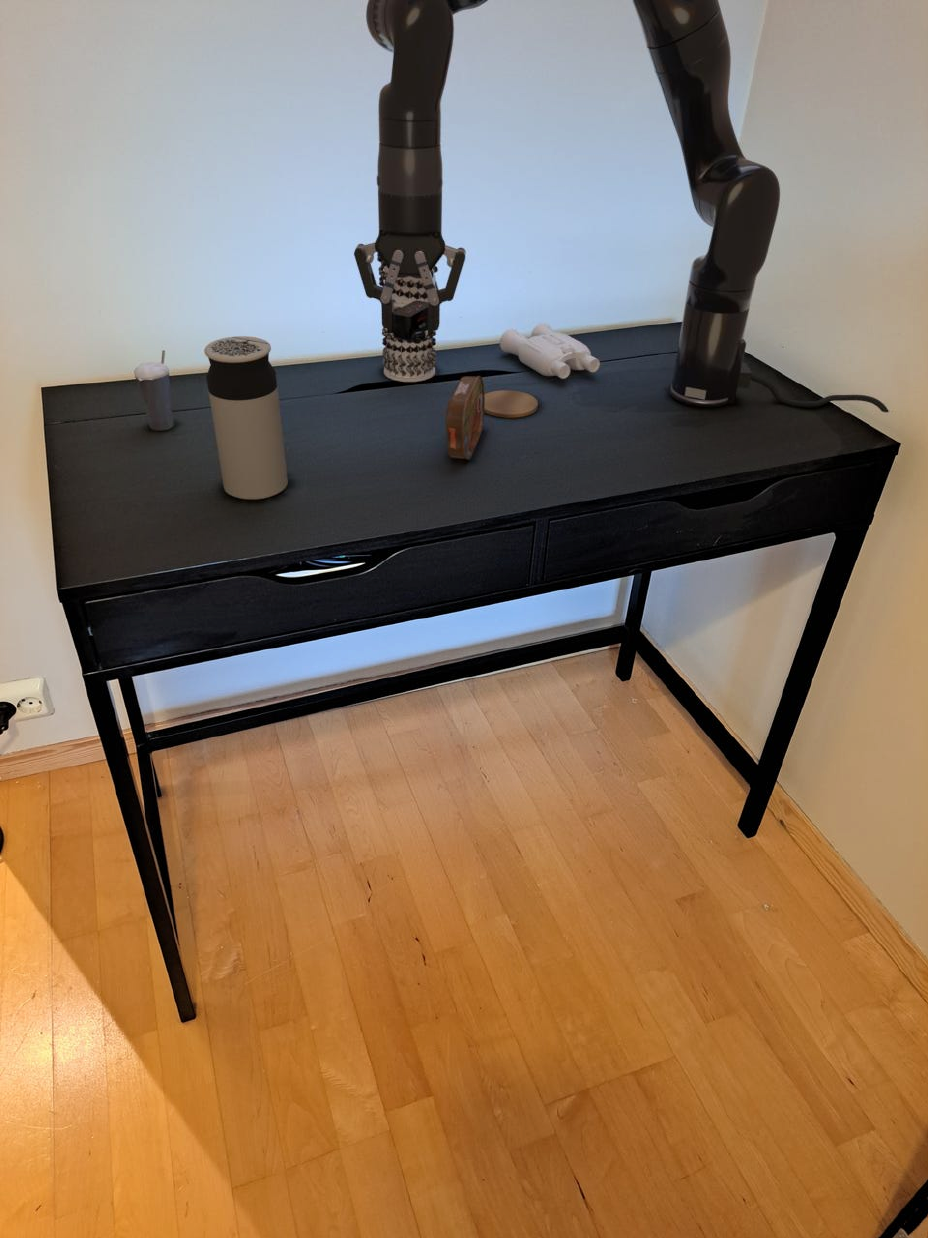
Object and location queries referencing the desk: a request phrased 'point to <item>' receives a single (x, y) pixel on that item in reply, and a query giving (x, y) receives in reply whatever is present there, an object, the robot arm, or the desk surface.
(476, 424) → the tin
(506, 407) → the cork coaster
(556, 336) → the binoculars
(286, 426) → the desk surface
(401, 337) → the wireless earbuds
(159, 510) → the desk surface
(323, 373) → the desk surface
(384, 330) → the decorative candle
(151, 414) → the milkshake
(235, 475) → the travel mug
